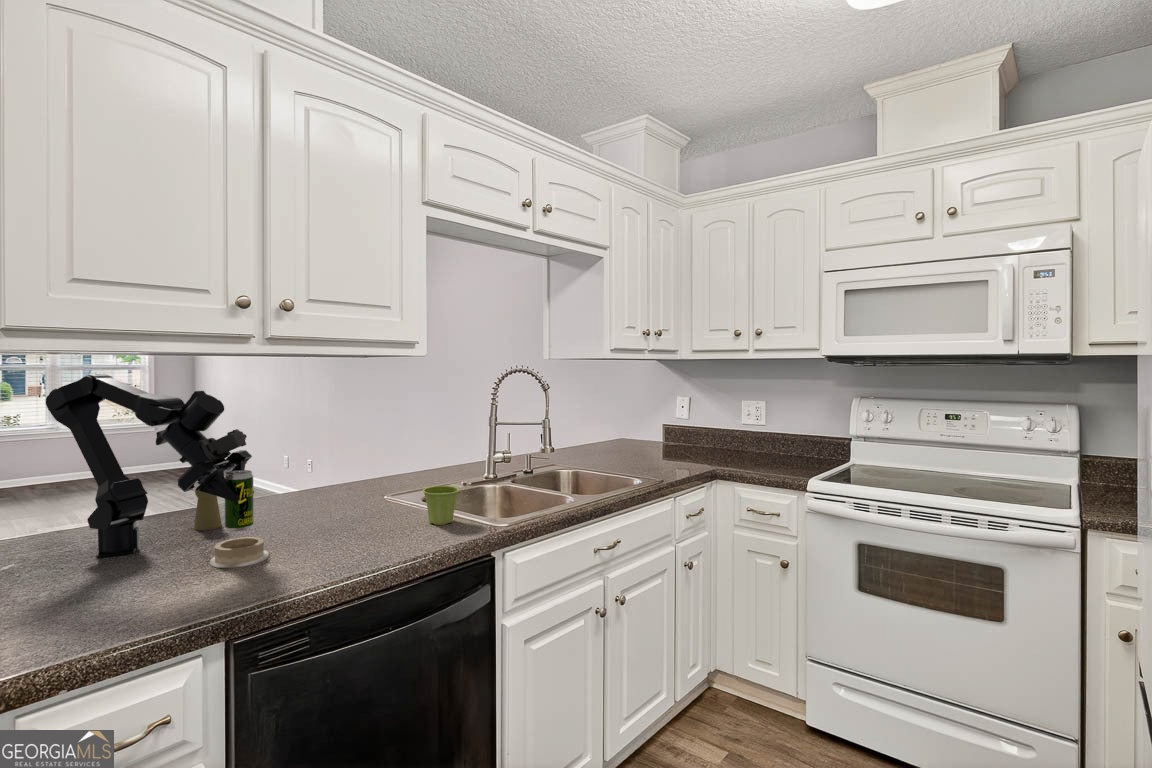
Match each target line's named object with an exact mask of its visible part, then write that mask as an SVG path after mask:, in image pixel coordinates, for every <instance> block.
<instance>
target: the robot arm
mask: <svg viewBox="0 0 1152 768" xmlns="http://www.w3.org/2000/svg"><path fill="white" fill-rule="evenodd" d="M104 400H106V401H109V402H111V403H114V404H116V405H117V406H120V407H123V408H125V409H128V410H130V411H132V412H133V413H134V415H135V417H136V419H138V420H139V421H141V422H142V423H143V424H146V426H148V427H159V426H166V425H167V426H166V427H165V428H164V429H163V430H160V431H157V432H155V434H156V438H155V446H161V445H163V444H166V443H168V444H169V445H170V447H171V448H173V449H174V450H175V451H176V452H177V453H178V454H179V455H180V456H181V458H179V460H178V461H180V462H181V463H182V464H185V463H188V464H189V465H190V467H189V468H188V469H186V471H184V472H183V474H182V475H180V477H179V478H177V487H178V488H179V489H181V491H182V492H184V493H187V492H190V491H193V490H194V488H195V483H197V484H198V485H197V486H198V487H197V486H196V487H197V488H195V490H196V491H201V492H205V493H208V494H212V495H215V496H217V498H221V499H224V500H225V499H227V500H230V501H233V502H238V501H239V500H240V497H239V496H238V494H237V493H236V492H235V491H234V489H233V488H232V487H231V486H230V484H229V483H228V482H227V481H226V480H225V476H226V473H227V472H230V471H238V470H246V469H245V468H246V464H247V463H248V462H249V460H250V459H252V458H253V455H252V454H250V453H249V452H248V451H247V449H246V450H245V449H242V450H241V449H239V450H237V451H233V450H235V449H237V448H240V447H245V446H246V445H247V442H246V440H247V439H246V438H247V434H245V433H243V431H241V430H239V429H233V430H231V431H228V432H226V433H227V434H226V435H224V436H221V437H220V438H217V439H215V438H214V437H210V438H207V437H206V436H205V435H204V434H203V433H202V432H205V431H208V430H209V428H210V427H211V426H212V425H213V424H214V423H215V422H216V420H218V418H220V416H221V415H222V414H223V413H224V412H225V405H224V403H223V402H222V400H220V399H218V398H216V397H215V396H213V395H211V394H207V393H206V392H205V391H204V390H195V391H194V392H193V393H192V394H191V396H190V398H189V399H187V401H186V402H184V401H183V399H181V398H180V397H176V396H171V395H166V394H165V395H164V394H154V393H149V392H147V391H144V390H142V389H140V388H137V387H135V386H133V385H130V384H128V383H125V382H123V381H121V380H118V379H115V378H114V377H113V376H111V375H108V374H88V375H86V376H83V377H82V378H80V379H78V380H77V381H73V382H70V383H68V384H65V385H63V386H60V387H58V388H55V389H52V390H51V391H50V392H49V394H48V395H47V396H46V397H45V406H46V408H47V409H48V411H49V413H50V414H51V415H52V417H53V418H54V420H55V421H56V422H58V423H60V424H61V425H63V426H64V427H66V428H68V429H69V430H70V431H71V434H72V436H73V438H74V440H75V442H76V444H77V446H78V448H79V450H80V452H81V454H82V456H83V458H84V460H85V463H86V464H87V466H88V468H89V470H90V472H91V474H92V476H93V478H94V481H95V482H96V484H97V491H96V494H95V499H94V501H95V503H96V506H97V507H96V508H95V510H94V511H93V512H92V513H91V514H90V515H89V516H88V517H87V519H86V520H87V523H88V526H89V528H90V529H92V530H97V544H98V545H97V547H98V549H97V550H98V551H97V553H96V554H95V555H96V556H95V557H96V558H102V557H103V558H104V557H111V556H112V557H113V556H121V555H130V554H134V553H135V551H136V549H138V548H139V546H140V527H138V526H137V523H136V522H137V521H138V522H139V521H143V520H144V518H145V514H146V511H147V510H146V509H147V507H148V504H149V499H148V492H147V490H145V488H144V486H143V483H142V481H141V479H139V478H138V477H136V478H130V477H127V476H126V475H125V473H124V470H123V469H122V467H121V465H120V463H119V461H118V459H117V457H116V455H115V453H114V451H113V449H112V447H111V445H110V443H109V441H108V439H107V437H106V436H105V433H104V431H103V430H102V428H101V425H100V424H99V420H98V417H99V413H100V409H101V407H100V403H101V402H103V401H104ZM231 451H233V452H231ZM254 493H255V490H253V495H254Z"/></svg>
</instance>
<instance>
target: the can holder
mask: <svg viewBox="0 0 1152 768" xmlns="http://www.w3.org/2000/svg"><path fill="white" fill-rule="evenodd" d="M264 548H265V547H264V538H261V537H257V536H243V537H237V538H235V537H234V538H230V539H226V540H223V541H220V542H218V543H216V544H215V545H214V556H213V557H212V558H211V559H210V560H209V565H210V566H211V567H212V568H213V567H214V568H217V569H237V568H241V567H248V566H252V565H255V564H259V563H261V562H263V561H265V560H267V559H269V558H270V557H269V556H270V554H269V553H270V552H269V551H267V550H265V549H264Z"/></svg>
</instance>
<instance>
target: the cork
mask: <svg viewBox="0 0 1152 768" xmlns="http://www.w3.org/2000/svg"><path fill="white" fill-rule="evenodd" d="M198 486H199V485H197V486H196V488H197V487H198ZM196 488H195V489H196ZM194 494H195V496H196V497H197V502H196V503H197V504H196V510H195V511H196V512H195V519H194V526H193V530H195V531H210V530H216V529H219V528H222V526H223V524H222V519H221V513H220V507H219V501H218V496H215V495H212V494H208V493H205V492H201V491H196V490H195V491H194Z"/></svg>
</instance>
